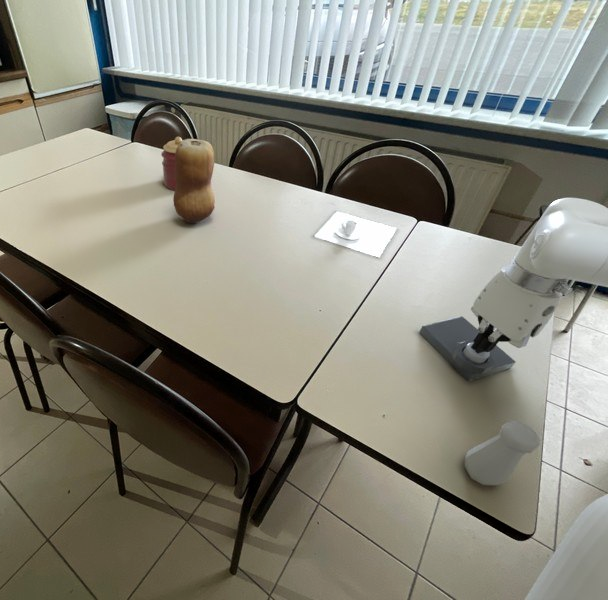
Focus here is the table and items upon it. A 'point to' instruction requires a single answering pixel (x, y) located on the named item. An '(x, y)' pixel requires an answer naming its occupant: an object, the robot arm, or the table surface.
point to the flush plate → (454, 339)
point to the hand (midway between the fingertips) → (479, 349)
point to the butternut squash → (194, 180)
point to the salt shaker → (501, 453)
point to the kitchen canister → (170, 162)
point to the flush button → (475, 354)
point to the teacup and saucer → (356, 233)
